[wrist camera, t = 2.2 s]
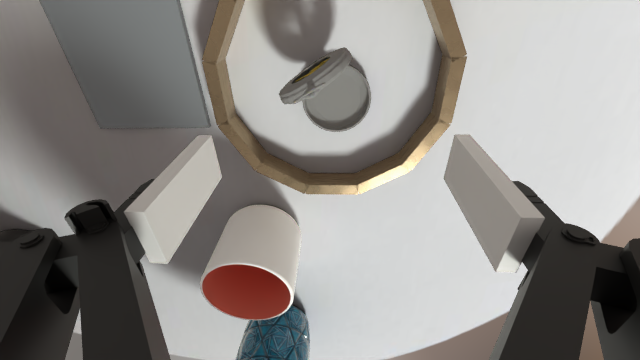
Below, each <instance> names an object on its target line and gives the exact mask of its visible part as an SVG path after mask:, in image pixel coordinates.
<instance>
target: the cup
mask: <svg viewBox="0 0 640 360" xmlns="http://www.w3.org/2000/svg"><path fill="white" fill-rule="evenodd" d="M301 242H302V237H301V231H300V228H299V226H298V224H297V223H296V221H295V220H294V219H293V218H292V217H291V216H290V215H289V214H287V213H286V212H284V211H283V210H281V209H279V208H276V207H273V206H268V205H251V206H247V207H244V208H242V209H240V210H238V211H237V212H235V213H234V214H233V215H232V216H231V217H230V219H229V220H228V222H227V224H226V226H225V228H224V230H223V233H222V235H221V237H220V239H219V241H218V243H217V245H216V247H215V249H214V252H213V254H212V256H211V258H210V260H209V262H208V264H207V266H206V269H205V271H204V273H203V275H202V277H201V280H200V289H201V292H202V295H203V296H204V298H205V299H206V300H207V302H208V303H209V304H211V305H212V306H213V307H214V308H216V309H217V310H219V311H221V312H223V313H225V314H227V315H230V316H232V317H236V318H240V319H245V320H266V319H271V318H274V317H277V316H279V315H281V314H283V313H285V312H286V311H287V310H288V309H289V308H290V306H291V305H292V303H293V299H294V292H295V285H296V278H297V270H298V263H299V256H300V249H301Z"/></svg>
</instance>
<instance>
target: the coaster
mask: <svg viewBox="0 0 640 360" xmlns="http://www.w3.org/2000/svg"><path fill="white" fill-rule="evenodd" d="M39 1H40V3H41V5H42V7H43V9H44V11H45V13H46V16H47V18H48V20H49V22H50V24H51V26H52V28H53V30H54V32H55V34H56V37H57V39H58V41H59V43H60V45H61V47H62V49H63V51H64V53H65V55H66V58H67V60H68V62H69V64H70V66H71V68H72V70H73V72H74V74H75V76H76V79H77V81H78V83H79V85H80V87H81V89H82V91H83V93H84V95H85V97H86V100H87V102H88V104H89V106H90V108H91V110H92V112H93V114H94V116H95V118H96V121H97V123H98V125H99V127H100V128H209V127H210V126H211V124H210V120H209V116H208V112H207V108H206V104H205V100H204V96H203V92H202V88H201V84H200V80H199V76H198V72H197V68H196V64H195V60H194V56H193V52H192V48H191V44H190V40H189V36H188V32H187V28H186V24H185V20H184V16H183V12H182V8H181V4H180V0H39Z"/></svg>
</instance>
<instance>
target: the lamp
mask: <svg viewBox="0 0 640 360" xmlns="http://www.w3.org/2000/svg"><path fill="white" fill-rule="evenodd" d="M309 346H310V335H309V324H308V320H307V317H306V315H305V314H304V313H303V312H302V311H301V310H300V309H299V308H298V307H296V306H294V305H291V306H290V308H289V309H288V310H287V311H286V312H285V313H283V314H281V315H279V316H277V317H274V318H271V319H266V320H249V321H248V324H247V326H246V329H245V332H244V335H243V338H242V341H241V344H240V347H239V350H238V354H237V357H236V360H309Z"/></svg>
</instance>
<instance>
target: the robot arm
mask: <svg viewBox="0 0 640 360" xmlns="http://www.w3.org/2000/svg"><path fill="white" fill-rule="evenodd" d="M221 178H222V174H221V171H220V167H219V163H218V159H217V155H216V151H215V147H214V143H213V139H212V135H198V136H197V137H196V138H195V139H194V140H193V141H192V142H191V143H190V144H189V145H188V146H187V147H186V148H185V149H184V150H183V151H182V152H181V153H180V154H179V155H178V156H177V157H176V158H175V159H174V160H173V161H172V163H171V164H170V165H169V166H168V167H167V168H166V169H165V170H164V171H163V172H162V173H161V174H160V175H159V176H158V177H157V178H156V179H151V180H150V181H148V182H146V183H145V184H143V185H141V186H140V187H139V188H138V189H137V190H136V191H135V193H134V194H132V195H131V196H130V197H129V199H127V200H126V201H125V202H124V203H123V204H122V205H121V206H120V207H119V208H118V209H117V210H116V211H115V212H114V213H113V211H112V209H111V207H110V205H109V204H108V202H107V201H105V200H92V201H88V202H85V203H82V204H80V205H77V206H76V207H74V208H72V209H71V210H70V211H69V212H68V213H67V214H66V216H65V220H66V221H67V223H68V224H69V226H70V227H71V229H72V230H73V232H74V233H75V234H73V235H68V236H63V237H58V236H57V234H56V233H55V232H54V231H53V230H52V229H48V228H44V229H37V230H34V231H26V230H6V231H2V232H0V360H65V357H66V353H67V350H68V347H69V343H70V340H71V336H72V333H73V330H74V326H75V323H76V319H77V316H78V313H79V309H80V313H81V330H82V347H83V360H171V359H170V356H169V353H168V349H167V346H166V343H165V339H164V336H163V333H162V329H161V326H160V323H159V319H158V316H157V313H156V309H155V306H154V303H153V299H152V296H151V293H150V289H149V286H148V283H147V279H146V276H145V273H144V269H143V266H142V264H141V262H140V259H141V258H142V257H143V255H144V254H146V256H147V258H148V260H149V262H150V263H166V264H168V263H169V261H170V260H171V258H172V256H173V255H174V253H175V252H176V250H177V248H178V247H179V245H180V244H181V242H182V240H183V239H184V237H185V236H186V234H187V232H188V231H189V229H190V228H191V226H192V224H193V223H194V221H195V220H196V218H197V216H198V215H199V213H200V212H201V210H202V208H203V207H204V205H205V204H206V202H207V200H208V199H209V197H210V196H211V194H212V192H213V191H214V189H215V188H216V186H217V184H218V183H219V181H220V180H221ZM444 180H445V182H446V184H447V185H448V187H449V189H450V191H451V193H452V194H453V196H454V198H455V200H456V202H457V203H458V205H459V207H460V209H461V211H462V212H463V214H464V216H465V218H466V220H467V221H468V223H469V225H470V227H471V228H472V230H473V232H474V234H475V236H476V237H477V239H478V241H479V243H480V245H481V246H482V248H483V250H484V252H485V254H486V255H487V257H488V259H489V261H490V263H491V264H492V266H493V268H494V270H495V272H513V273H516V272H517V270H518V268H519V267H520V265H521V263H522V262H523V263H524V265H525V266H526V268H527V269H528V271H527V273H526V275H525V277H524V278H523V280H522V282H521V284H520V286H519V287H518V290H519V291H518V293H517V295H516V298H515V300H514V302H513V305H512V307H511V309H510V312H509V314H508V316H507V319H506V321H505V323H504V326H503V328H502V330H501V333H500V335H499V337H498V340H497V343H496V345H495V347H494V349H493V352H492V354H491V356H490V359H489V360H579V356H580V350H581V345H582V340H583V334H584V330H585V324H586V319H587V314H588V308H589V303H590V301H591V305H592V309H593V313H594V318H595V322H596V327H597V331H598V336H599V340H600V344H601V349H602V353H603V357H604V360H640V238H639V239H632V240H631V241H629V243H628V244H627V245H626V246H625V247H624V248H622V247H617V246H612V245H608V244H603V243H600V242H599V240H598V239H597V238H596V237H595V236H594V235H593V234H592V233H590V232H589V231H587V230H585V229H583V228H581V227H578V226H575V225H571V224H565V223H564V222H563V221H562V220H561V219H560V218H559V217H558V216H557V215H556V214H555V213H554V212H553V211H552V210H551V209H550V208H549V207H548V206H547V205H546V204H544V202H543V201H542V200H541V199H540V198H539V197H538V196H537V195H536V193H535V192H534V191H533V190H532V189H531V188H529V187H528V186H526V185H524V184H523V183H521V182H519V181H511V180H510V179H509V178H508V176H507V175H506V174H505V173H504V172H503V171H502V170H501V169H500V168H499V167H498V165H497V164H496V163H495V162H494V161H493V160H492V159H491V158H490V157H489V156H488V154H487V153H486V152H485V151H484V150H483V149H482V148H481V147H480V146H479V144H478V143H477V142H476V141H475V140H474V139H473V138H472V137H471V136H470V135H454V139H453V143H452V147H451V151H450V155H449V159H448V163H447V167H446V171H445V175H444Z"/></svg>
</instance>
